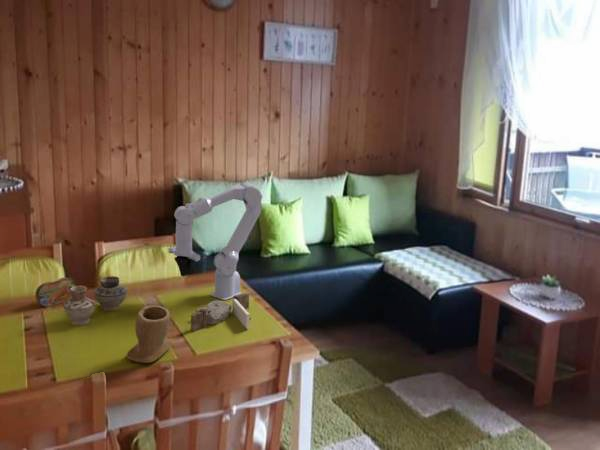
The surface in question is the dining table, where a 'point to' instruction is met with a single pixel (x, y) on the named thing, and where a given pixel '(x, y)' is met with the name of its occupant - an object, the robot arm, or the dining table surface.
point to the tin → (55, 291)
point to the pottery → (105, 295)
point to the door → (241, 313)
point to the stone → (216, 311)
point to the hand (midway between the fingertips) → (184, 275)
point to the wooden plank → (200, 317)
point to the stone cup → (151, 334)
